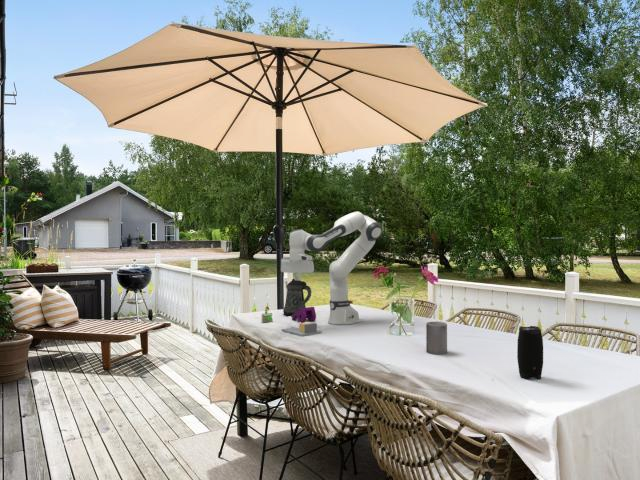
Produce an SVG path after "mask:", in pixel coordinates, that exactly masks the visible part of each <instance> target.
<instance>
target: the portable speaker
mask: <svg viewBox="0 0 640 480" xmlns="http://www.w3.org/2000/svg"><path fill="white" fill-rule="evenodd" d="M516 353H517V356H516V357H517V359H516V360H517V365H518V373H519V376H520V378H521V379H524V380H530V379H532V378H533V379H536V380H541V379H542V373H543V368H544V339H543V334H542V328H540V327H539V326H536V325H530V326H523V325H522V326H519V328H518V337H517V352H516Z"/></svg>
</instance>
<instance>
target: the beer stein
mask: <svg viewBox="0 0 640 480" xmlns="http://www.w3.org/2000/svg"><path fill="white" fill-rule="evenodd" d="M285 287H286V296H285V297H286V298H285V303H284V307H283V310H282V312H283V316H284V315H285V316H284V317H288V316H291V315H293V314H294V313H295V312H297V311H298V310H299V309H301V308H307V307H306V304H307V303H308V301H309V300H310V299H311V297H312V289H311V287H310V286H309V285H307V282H306V281H304V280H303V281H302V280H301V279H300V280H295V278H292V280H291V281H289V282H288V283H287V284H286V285H285ZM304 290H306V291H307V296H306V297H305V295H304ZM290 318H292V316H291V317H290Z"/></svg>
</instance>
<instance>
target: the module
mask: <svg viewBox="0 0 640 480" xmlns="http://www.w3.org/2000/svg"><path fill="white" fill-rule="evenodd" d="M311 323H313V321H312V322H310V321H306V322H304V323H300V322H299V324H298V326H299V332H304V333H305V324H311Z"/></svg>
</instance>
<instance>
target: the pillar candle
mask: <svg viewBox="0 0 640 480" xmlns="http://www.w3.org/2000/svg"><path fill="white" fill-rule="evenodd" d="M425 325H426V327H425V328H426V330H425V333H426V337H425V340H426V341H425V344H426V347H425V348H426V350H425V351H426V352H425V353H427V354H431V355H438V356H439V355H445V354H447V353H448V323H446V322H444V321H437V320H436V321H429V322H426V324H425Z"/></svg>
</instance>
